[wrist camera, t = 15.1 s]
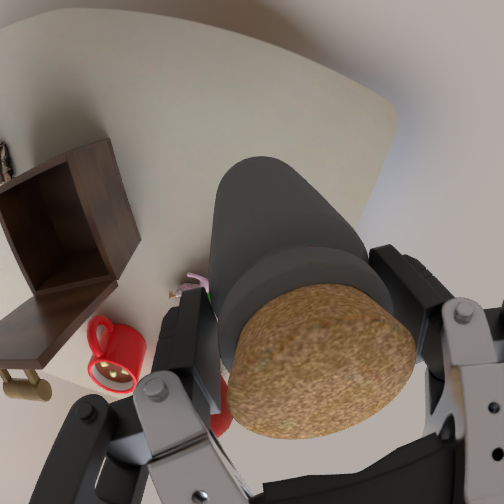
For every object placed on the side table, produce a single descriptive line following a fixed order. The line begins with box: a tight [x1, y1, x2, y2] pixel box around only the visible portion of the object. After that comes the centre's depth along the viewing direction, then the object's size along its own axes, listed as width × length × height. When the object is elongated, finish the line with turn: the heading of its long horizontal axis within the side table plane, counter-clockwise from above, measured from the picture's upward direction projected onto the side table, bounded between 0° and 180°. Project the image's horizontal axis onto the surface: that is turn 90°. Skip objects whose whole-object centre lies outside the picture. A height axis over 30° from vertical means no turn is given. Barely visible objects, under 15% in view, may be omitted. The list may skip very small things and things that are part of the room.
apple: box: [210, 375, 233, 438], centre depth 43 cm, size 10×10×14 cm
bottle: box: [209, 156, 417, 439], centre depth 13 cm, size 6×6×15 cm
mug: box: [87, 315, 146, 393], centre depth 40 cm, size 8×12×8 cm, turn 17°
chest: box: [0, 138, 141, 296], centre depth 30 cm, size 14×13×10 cm
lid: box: [0, 279, 118, 402], centre depth 21 cm, size 14×13×5 cm
